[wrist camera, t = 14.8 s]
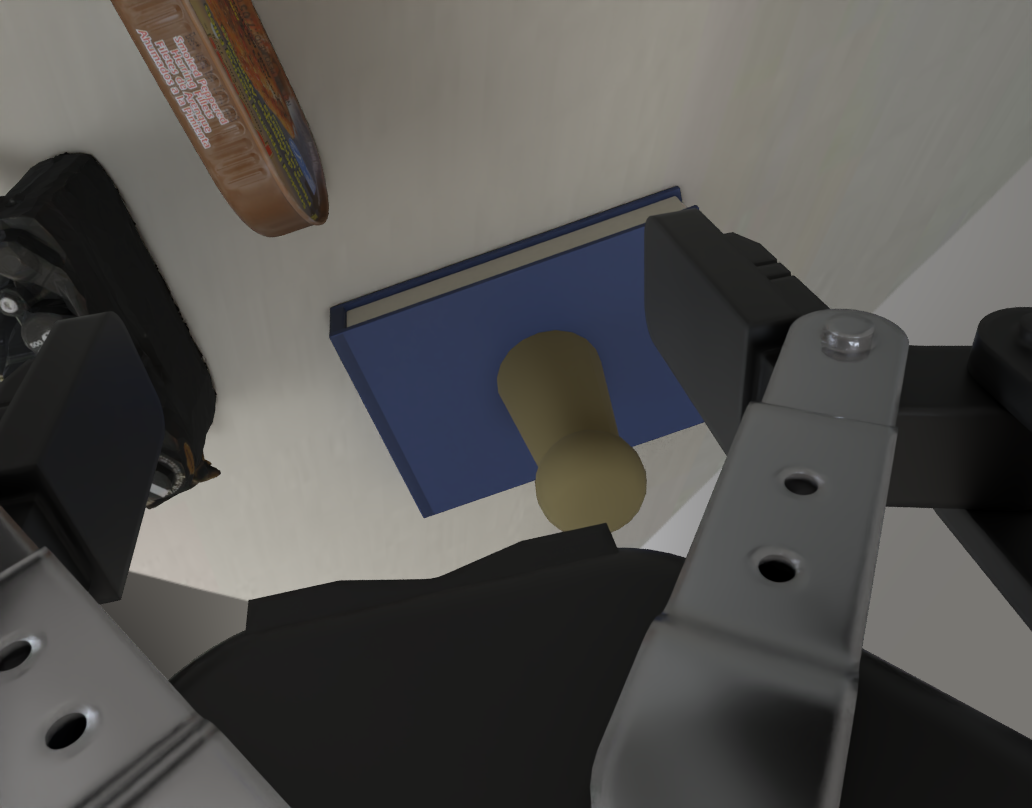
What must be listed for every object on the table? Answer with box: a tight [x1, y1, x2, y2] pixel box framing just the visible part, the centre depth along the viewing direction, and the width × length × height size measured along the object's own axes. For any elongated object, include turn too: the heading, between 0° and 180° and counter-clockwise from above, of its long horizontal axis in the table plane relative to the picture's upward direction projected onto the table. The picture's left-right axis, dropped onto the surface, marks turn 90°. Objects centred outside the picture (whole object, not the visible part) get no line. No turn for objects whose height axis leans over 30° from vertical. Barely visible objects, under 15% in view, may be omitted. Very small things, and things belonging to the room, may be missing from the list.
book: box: [329, 186, 704, 518], centre depth 45 cm, size 20×14×3 cm
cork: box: [497, 330, 647, 532], centre depth 40 cm, size 6×6×11 cm
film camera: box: [0, 152, 221, 509], centre depth 37 cm, size 18×12×10 cm
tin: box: [111, 0, 329, 237], centre depth 31 cm, size 15×3×8 cm, turn 17°
